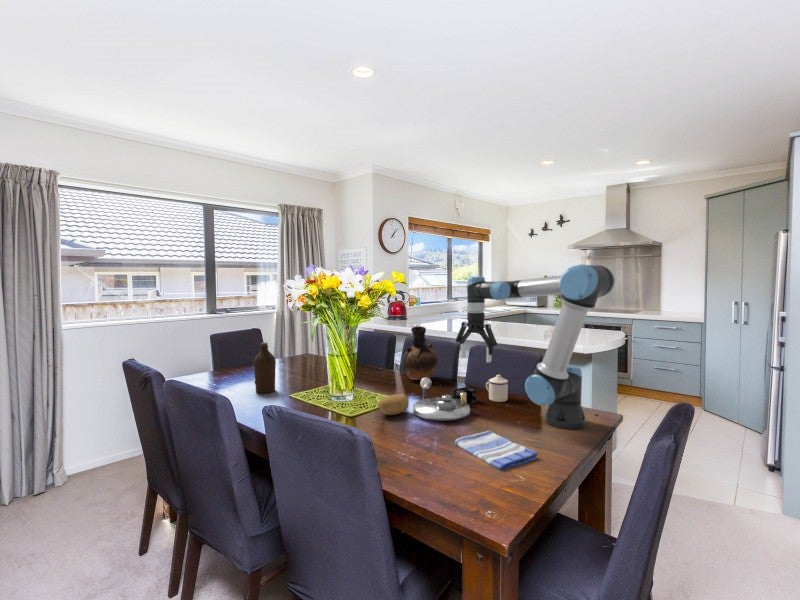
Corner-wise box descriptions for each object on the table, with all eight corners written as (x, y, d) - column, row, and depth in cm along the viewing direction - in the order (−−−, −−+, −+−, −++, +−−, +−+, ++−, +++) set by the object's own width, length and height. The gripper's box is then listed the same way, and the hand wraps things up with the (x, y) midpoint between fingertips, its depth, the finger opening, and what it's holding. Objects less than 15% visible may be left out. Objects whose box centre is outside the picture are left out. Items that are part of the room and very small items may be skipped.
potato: (373, 414, 180) (373, 395, 179) (400, 408, 187) (400, 390, 187) (385, 420, 171) (385, 401, 171) (413, 414, 179) (413, 395, 179)
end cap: (467, 399, 201) (467, 385, 200) (477, 403, 195) (477, 388, 194) (450, 402, 196) (450, 387, 196) (459, 406, 190) (459, 391, 190)
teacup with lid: (512, 399, 199) (512, 375, 198) (499, 403, 193) (499, 378, 193) (492, 394, 208) (492, 370, 208) (479, 397, 203) (480, 373, 202)
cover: (458, 410, 174) (458, 398, 174) (440, 411, 172) (440, 399, 172) (452, 404, 182) (452, 392, 182) (434, 405, 180) (434, 394, 180)
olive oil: (280, 389, 218) (279, 341, 217) (267, 395, 208) (266, 345, 207) (263, 387, 222) (262, 340, 220) (250, 393, 212) (248, 344, 210)
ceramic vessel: (429, 374, 250) (429, 324, 248) (444, 381, 234) (444, 327, 232) (396, 378, 241) (396, 326, 239) (409, 385, 225) (409, 329, 223)
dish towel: (490, 435, 156) (490, 428, 156) (539, 460, 136) (540, 451, 136) (452, 445, 148) (452, 437, 148) (499, 473, 127) (499, 464, 127)
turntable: (421, 422, 165) (421, 405, 165) (407, 404, 189) (407, 388, 188) (478, 418, 170) (478, 401, 170) (458, 400, 194) (458, 385, 193)
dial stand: (431, 404, 192) (431, 377, 191) (421, 405, 191) (420, 378, 190) (429, 402, 196) (429, 375, 195) (418, 402, 195) (418, 376, 194)
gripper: (505, 313, 178) (505, 362, 180) (458, 309, 196) (458, 355, 197) (496, 314, 173) (495, 365, 174) (448, 311, 191) (448, 357, 192)
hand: (475, 360), depth 186 cm, fingers open, 13 cm apart
